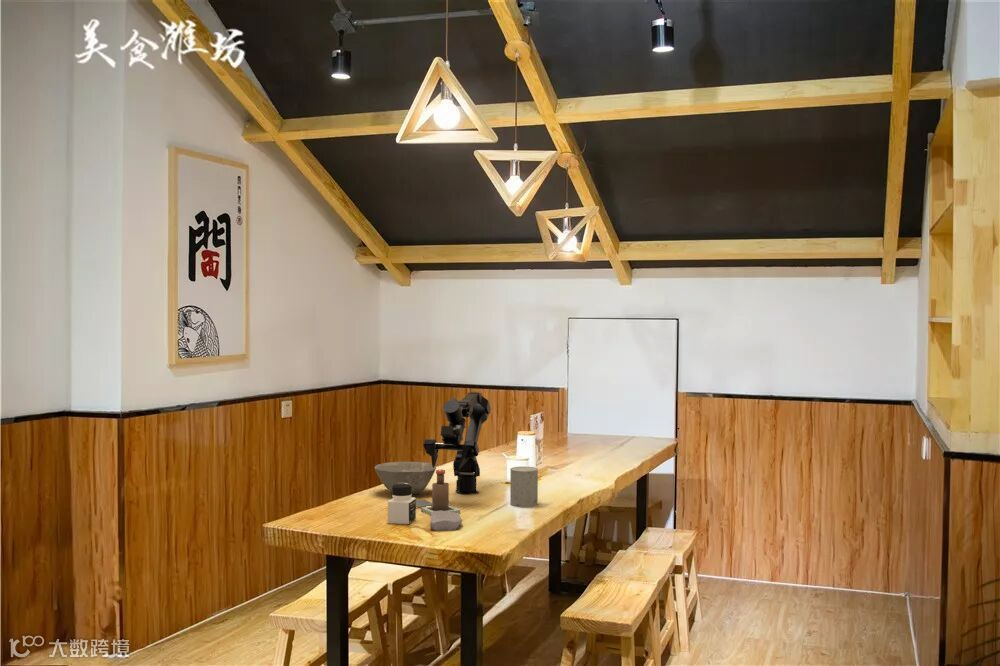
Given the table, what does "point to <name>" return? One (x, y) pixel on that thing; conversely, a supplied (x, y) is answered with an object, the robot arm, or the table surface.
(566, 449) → the table surface
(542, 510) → the table surface
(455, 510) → the pocket frame
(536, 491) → the grey matte cylinder
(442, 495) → the sauce bottle
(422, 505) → the slate pad
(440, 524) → the stone block
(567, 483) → the table surface
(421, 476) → the ceramic bowl
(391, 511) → the medicine bottle
